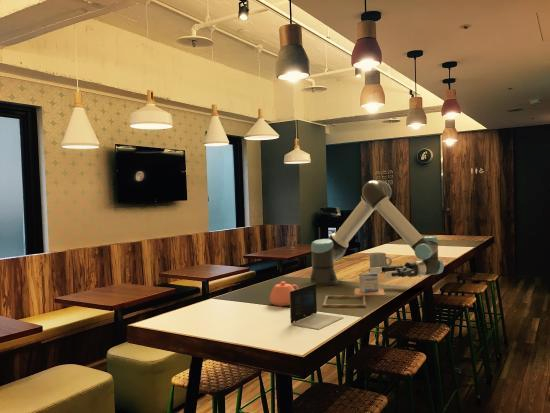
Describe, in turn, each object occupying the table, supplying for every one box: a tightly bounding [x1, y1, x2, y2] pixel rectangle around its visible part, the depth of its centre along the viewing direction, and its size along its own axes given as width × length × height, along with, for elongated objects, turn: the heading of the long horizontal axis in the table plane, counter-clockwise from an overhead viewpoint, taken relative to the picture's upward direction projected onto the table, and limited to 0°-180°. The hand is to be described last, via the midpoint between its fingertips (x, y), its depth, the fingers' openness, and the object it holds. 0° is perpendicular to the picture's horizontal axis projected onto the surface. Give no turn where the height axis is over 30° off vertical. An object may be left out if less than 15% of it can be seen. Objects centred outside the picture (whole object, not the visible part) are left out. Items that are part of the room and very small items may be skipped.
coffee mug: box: [369, 251, 393, 269], centre depth 285 cm, size 13×10×10 cm
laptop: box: [289, 283, 344, 330], centre depth 175 cm, size 18×12×13 cm
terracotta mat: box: [353, 287, 386, 296], centre depth 222 cm, size 14×14×1 cm
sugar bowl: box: [269, 281, 299, 308], centre depth 204 cm, size 12×14×10 cm
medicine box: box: [358, 272, 379, 293], centre depth 222 cm, size 8×4×9 cm, turn 110°
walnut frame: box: [322, 295, 367, 308], centre depth 203 cm, size 18×18×1 cm
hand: (377, 272), depth 223 cm, fingers open, 13 cm apart
